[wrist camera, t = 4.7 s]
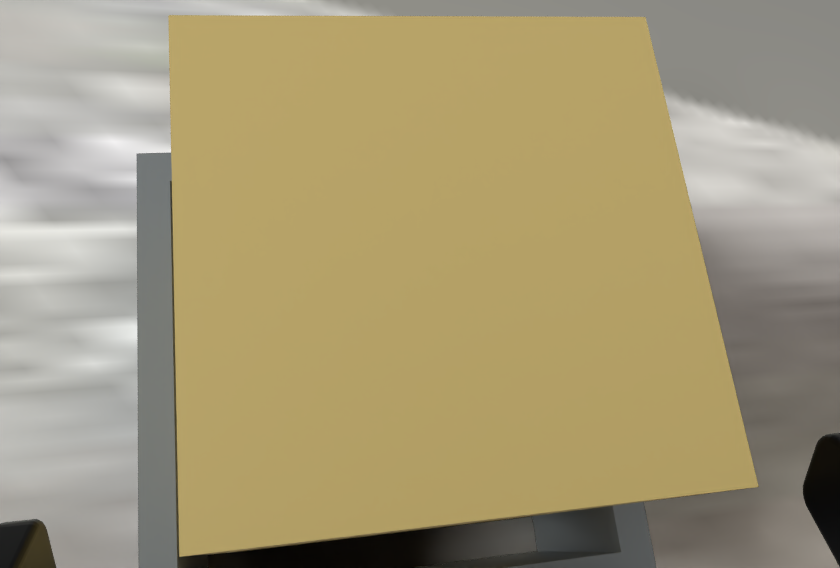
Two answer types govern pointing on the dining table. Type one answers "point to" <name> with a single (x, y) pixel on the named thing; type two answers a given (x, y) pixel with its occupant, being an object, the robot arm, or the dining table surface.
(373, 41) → the ochre block
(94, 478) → the dining table surface
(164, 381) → the sleeve
